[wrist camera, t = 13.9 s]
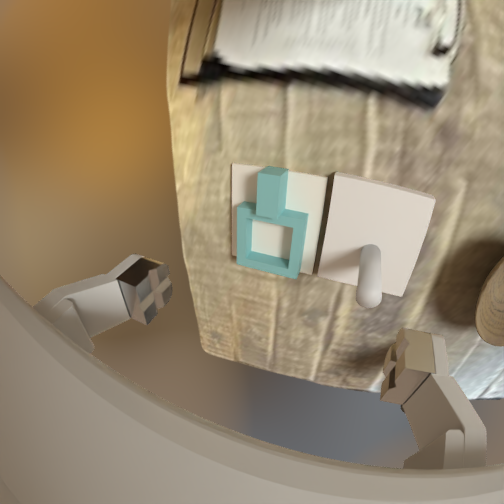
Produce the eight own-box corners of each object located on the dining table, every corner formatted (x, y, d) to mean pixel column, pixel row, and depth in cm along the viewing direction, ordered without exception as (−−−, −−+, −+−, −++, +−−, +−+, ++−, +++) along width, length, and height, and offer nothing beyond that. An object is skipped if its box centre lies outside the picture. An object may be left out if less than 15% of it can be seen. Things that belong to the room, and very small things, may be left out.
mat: (233, 162, 40) (232, 163, 39) (328, 177, 36) (327, 178, 35) (233, 253, 48) (231, 255, 48) (312, 272, 44) (311, 274, 44)
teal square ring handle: (244, 163, 39) (232, 169, 35) (313, 173, 36) (307, 180, 32) (242, 256, 47) (232, 268, 44) (300, 270, 44) (293, 284, 41)
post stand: (336, 171, 35) (323, 199, 25) (432, 195, 31) (456, 233, 21) (319, 269, 43) (301, 320, 34) (401, 289, 39) (404, 344, 30)
